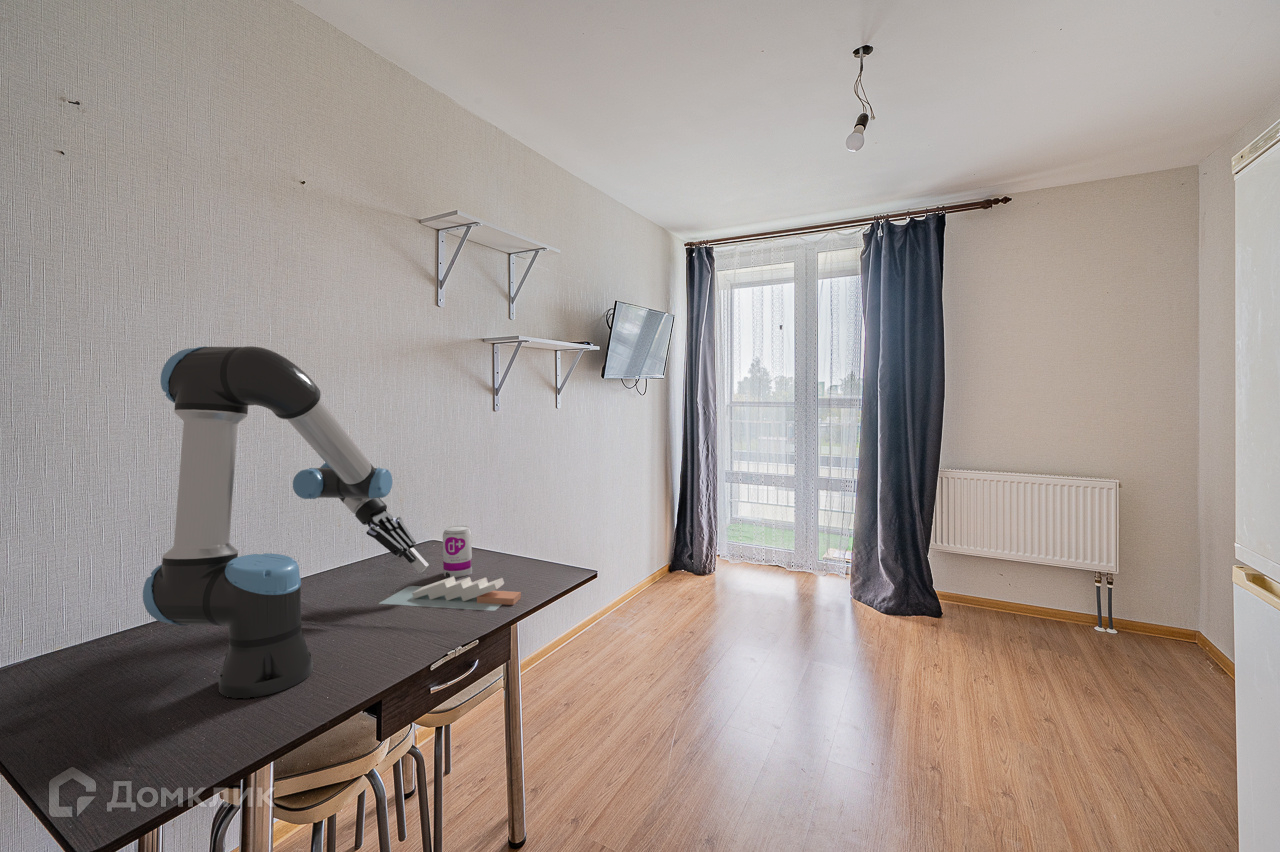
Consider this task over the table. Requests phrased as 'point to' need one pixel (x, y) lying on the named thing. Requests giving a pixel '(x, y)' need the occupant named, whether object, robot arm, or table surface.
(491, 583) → the domino
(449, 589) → the domino
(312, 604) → the table surface
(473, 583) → the domino
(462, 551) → the supplement can
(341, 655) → the table surface
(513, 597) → the domino
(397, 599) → the domino board
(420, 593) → the domino
